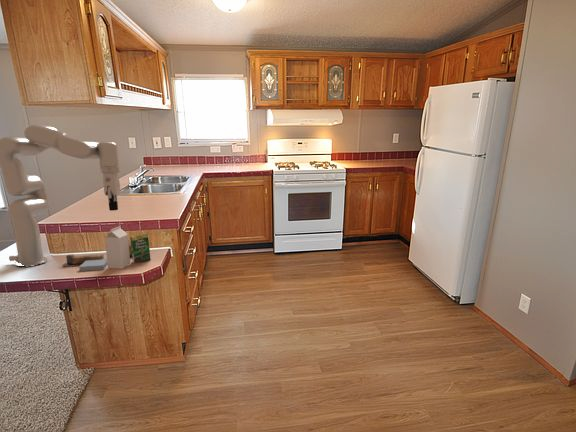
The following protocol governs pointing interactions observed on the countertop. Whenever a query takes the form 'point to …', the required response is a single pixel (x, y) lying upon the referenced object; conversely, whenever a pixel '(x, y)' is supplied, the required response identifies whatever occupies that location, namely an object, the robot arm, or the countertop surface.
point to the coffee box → (140, 248)
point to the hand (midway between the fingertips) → (113, 209)
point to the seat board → (93, 265)
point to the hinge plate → (70, 265)
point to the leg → (82, 258)
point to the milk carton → (117, 248)
